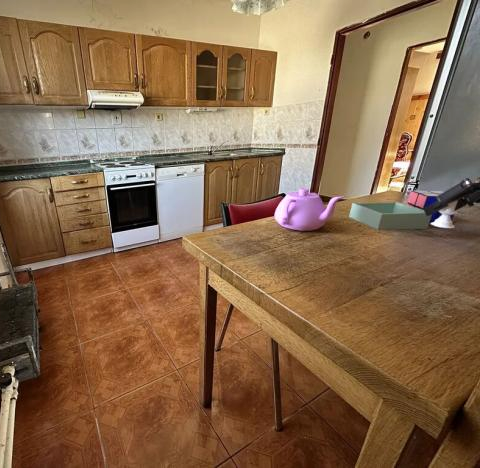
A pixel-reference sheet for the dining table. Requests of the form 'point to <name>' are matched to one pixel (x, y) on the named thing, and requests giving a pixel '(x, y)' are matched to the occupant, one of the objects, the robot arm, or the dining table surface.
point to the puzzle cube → (425, 201)
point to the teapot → (304, 211)
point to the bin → (389, 216)
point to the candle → (446, 216)
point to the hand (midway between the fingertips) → (434, 211)
